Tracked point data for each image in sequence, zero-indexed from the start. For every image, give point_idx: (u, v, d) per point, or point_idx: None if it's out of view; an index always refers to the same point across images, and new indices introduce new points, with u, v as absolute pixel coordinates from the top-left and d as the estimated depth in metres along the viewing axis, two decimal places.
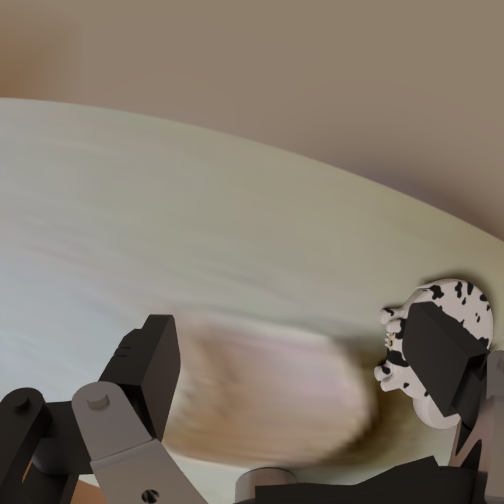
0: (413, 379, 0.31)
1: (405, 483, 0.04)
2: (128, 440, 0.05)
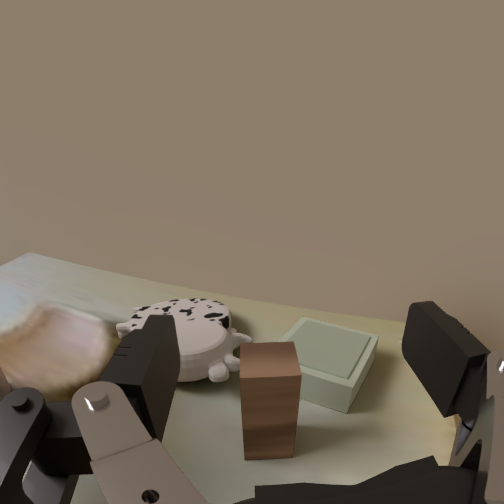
0: (141, 323, 0.43)
1: (404, 483, 0.04)
2: (128, 440, 0.05)
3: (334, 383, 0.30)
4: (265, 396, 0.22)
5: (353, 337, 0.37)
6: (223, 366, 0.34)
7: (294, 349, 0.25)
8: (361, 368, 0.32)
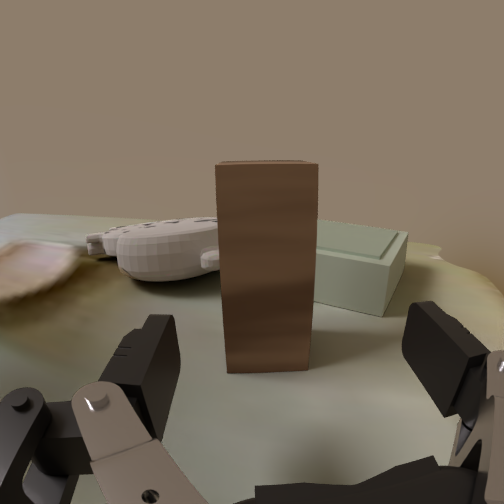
0: None
1: (404, 483, 0.04)
2: (128, 440, 0.05)
3: (362, 264, 0.22)
4: (259, 208, 0.14)
5: (377, 230, 0.29)
6: None
7: (303, 161, 0.17)
8: (395, 252, 0.24)
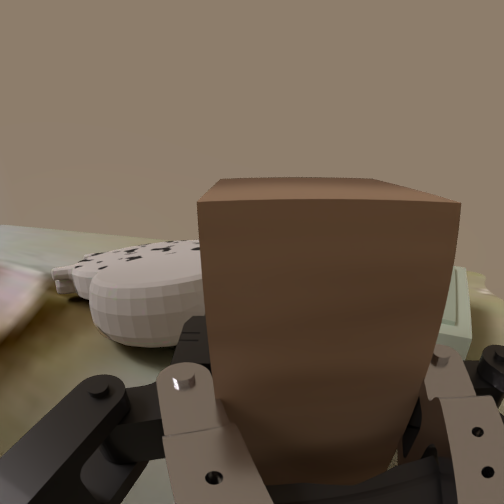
0: (89, 263, 0.25)
1: (404, 483, 0.04)
2: (206, 422, 0.05)
3: None
4: (318, 318, 0.05)
5: None
6: None
7: (384, 182, 0.08)
8: (467, 308, 0.15)
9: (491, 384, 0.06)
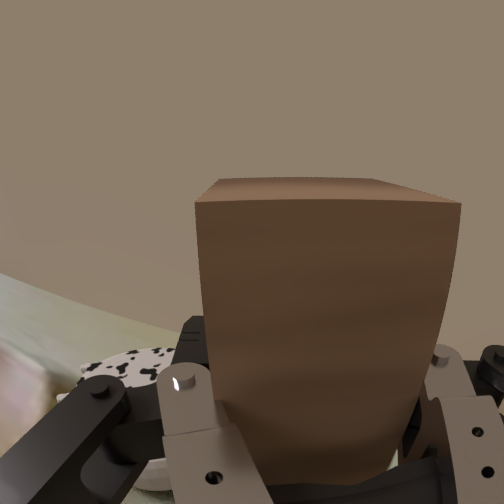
0: None
1: (405, 483, 0.04)
2: (206, 422, 0.05)
3: None
4: (317, 319, 0.05)
5: None
6: None
7: (384, 182, 0.08)
8: None
9: (491, 384, 0.06)
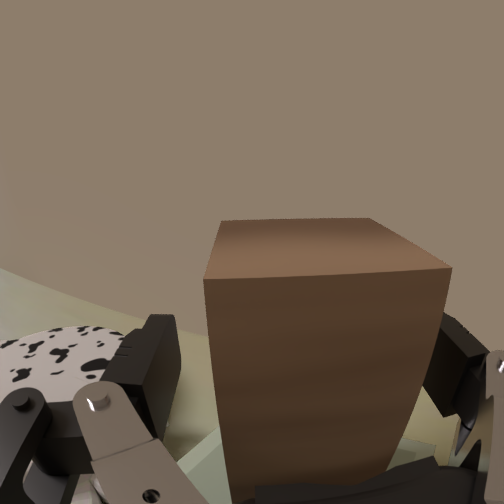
0: None
1: (404, 483, 0.04)
2: (129, 440, 0.05)
3: None
4: (313, 372, 0.06)
5: None
6: None
7: (381, 226, 0.08)
8: None
9: None
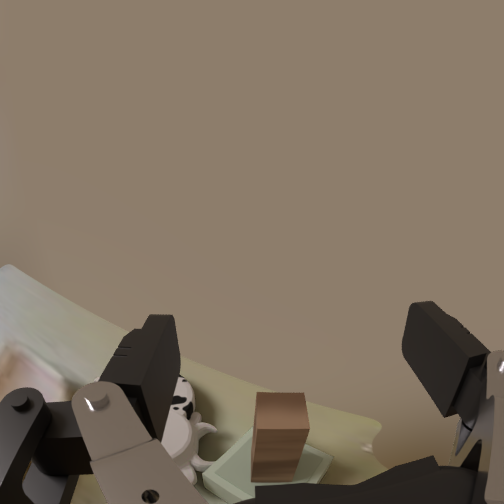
0: None
1: (404, 483, 0.04)
2: (128, 440, 0.05)
3: None
4: (276, 441, 0.25)
5: (304, 458, 0.31)
6: (191, 471, 0.29)
7: (304, 401, 0.27)
8: None
9: None
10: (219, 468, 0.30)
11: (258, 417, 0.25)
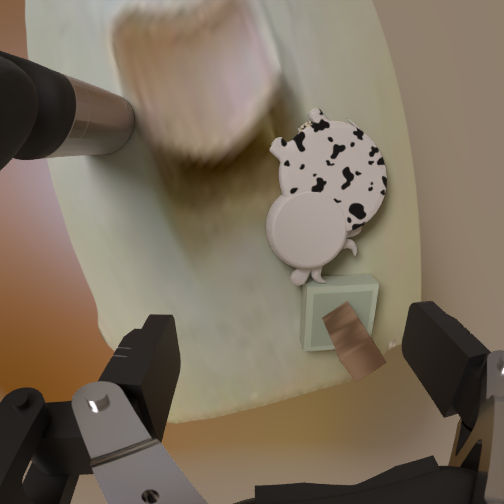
0: (295, 165, 0.40)
1: (404, 483, 0.04)
2: (128, 440, 0.05)
3: (304, 340, 0.47)
4: None
5: None
6: (305, 278, 0.45)
7: (378, 367, 0.36)
8: (325, 349, 0.48)
9: None
10: (319, 294, 0.45)
11: (350, 356, 0.35)
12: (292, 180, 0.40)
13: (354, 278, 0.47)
